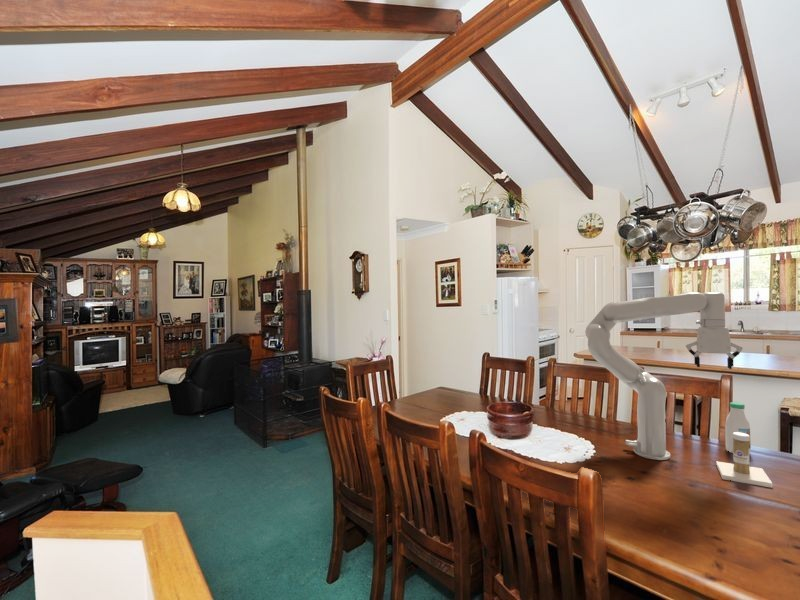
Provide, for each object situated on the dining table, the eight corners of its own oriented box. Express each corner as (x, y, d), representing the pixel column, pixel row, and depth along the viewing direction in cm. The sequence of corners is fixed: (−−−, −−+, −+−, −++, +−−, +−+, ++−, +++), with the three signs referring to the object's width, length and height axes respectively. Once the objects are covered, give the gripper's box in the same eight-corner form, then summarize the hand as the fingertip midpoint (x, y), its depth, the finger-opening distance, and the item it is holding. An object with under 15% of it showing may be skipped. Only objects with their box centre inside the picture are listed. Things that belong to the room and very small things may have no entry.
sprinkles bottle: (733, 471, 138) (732, 434, 138) (733, 467, 141) (732, 430, 141) (750, 475, 135) (749, 436, 135) (750, 470, 138) (749, 433, 138)
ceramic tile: (722, 479, 136) (722, 474, 136) (716, 465, 147) (716, 461, 147) (772, 487, 129) (772, 483, 129) (762, 472, 140) (762, 468, 140)
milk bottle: (730, 454, 156) (729, 405, 156) (722, 447, 163) (721, 400, 163) (754, 456, 153) (753, 406, 153) (745, 449, 160) (744, 401, 160)
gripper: (686, 324, 152) (687, 367, 152) (744, 324, 143) (745, 370, 143) (684, 322, 159) (685, 364, 159) (739, 323, 150) (740, 367, 150)
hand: (713, 367), depth 151 cm, fingers open, 9 cm apart
